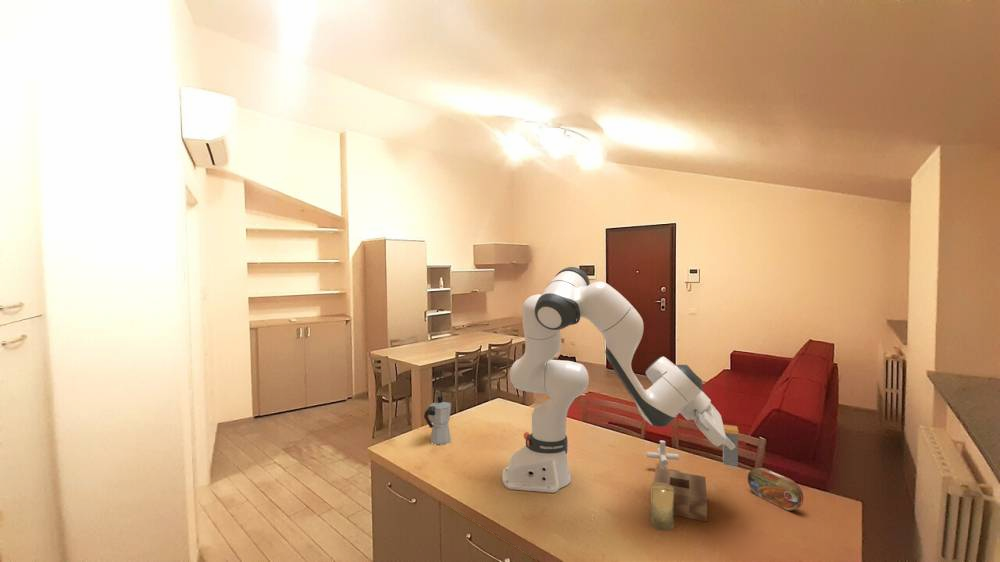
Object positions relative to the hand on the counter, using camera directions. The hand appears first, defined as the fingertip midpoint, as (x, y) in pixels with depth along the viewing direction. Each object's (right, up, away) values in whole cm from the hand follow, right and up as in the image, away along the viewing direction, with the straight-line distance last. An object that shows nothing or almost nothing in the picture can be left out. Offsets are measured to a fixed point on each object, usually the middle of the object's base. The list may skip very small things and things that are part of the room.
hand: (732, 444), depth 119 cm
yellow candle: (-21, -20, -5) cm, 29 cm away
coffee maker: (-89, -19, +51) cm, 105 cm away
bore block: (-13, -19, +5) cm, 24 cm away
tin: (+15, -19, +6) cm, 25 cm away
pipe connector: (-10, -19, +25) cm, 33 cm away
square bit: (0, -5, 0) cm, 5 cm away
